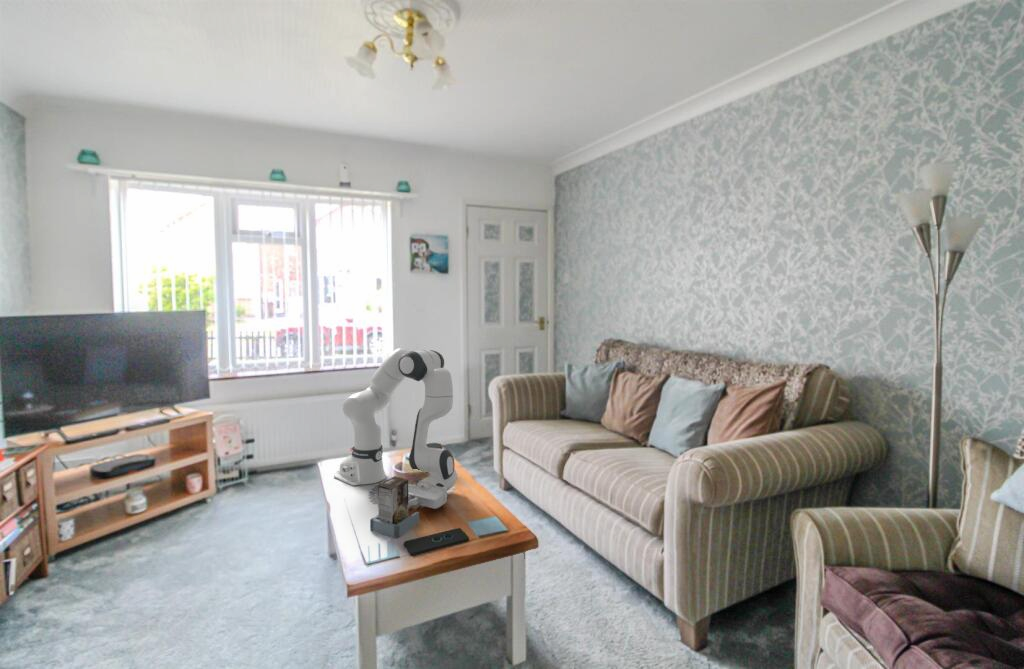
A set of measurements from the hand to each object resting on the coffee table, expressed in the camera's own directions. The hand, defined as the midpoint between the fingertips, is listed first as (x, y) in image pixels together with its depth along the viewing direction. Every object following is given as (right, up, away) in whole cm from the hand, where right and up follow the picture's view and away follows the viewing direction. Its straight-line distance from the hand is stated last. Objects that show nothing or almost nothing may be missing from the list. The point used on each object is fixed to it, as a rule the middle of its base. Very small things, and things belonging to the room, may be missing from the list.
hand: (405, 504), depth 174 cm
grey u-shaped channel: (-2, -6, -4) cm, 8 cm away
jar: (+2, -2, +47) cm, 47 cm away
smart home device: (+14, -8, -14) cm, 21 cm away
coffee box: (-3, -7, -4) cm, 8 cm away
